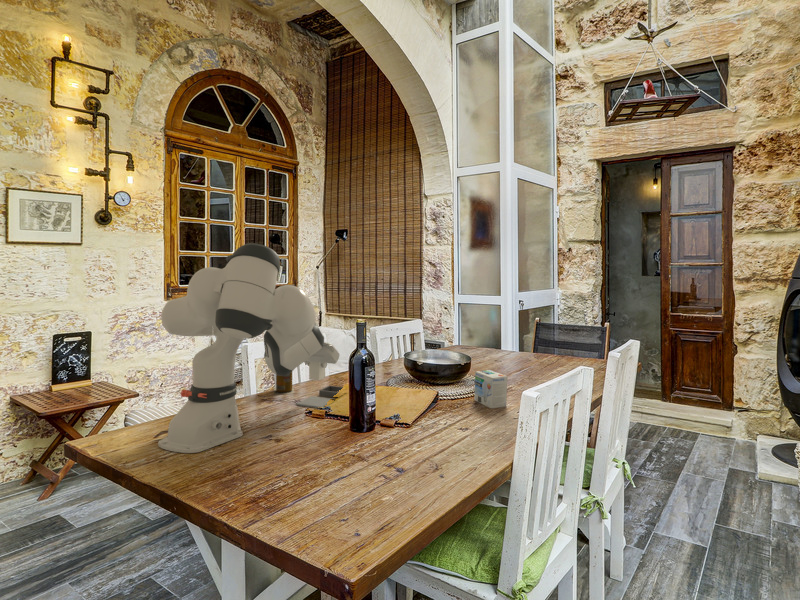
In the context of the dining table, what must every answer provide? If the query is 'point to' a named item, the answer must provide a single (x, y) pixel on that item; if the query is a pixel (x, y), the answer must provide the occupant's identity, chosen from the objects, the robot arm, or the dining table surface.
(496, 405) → the light bulb box
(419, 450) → the dining table surface
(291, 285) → the robot arm
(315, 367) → the post
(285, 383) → the condiment
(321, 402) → the tile
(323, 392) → the collar
